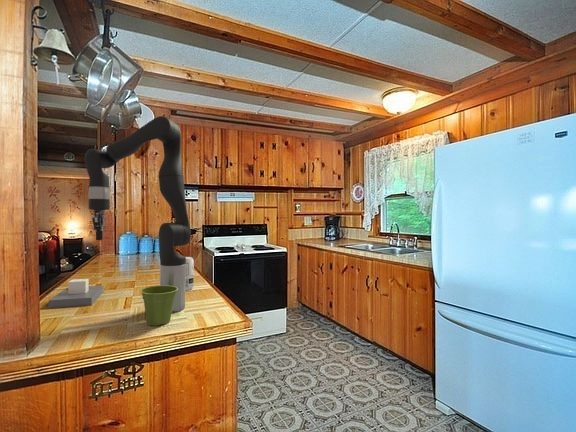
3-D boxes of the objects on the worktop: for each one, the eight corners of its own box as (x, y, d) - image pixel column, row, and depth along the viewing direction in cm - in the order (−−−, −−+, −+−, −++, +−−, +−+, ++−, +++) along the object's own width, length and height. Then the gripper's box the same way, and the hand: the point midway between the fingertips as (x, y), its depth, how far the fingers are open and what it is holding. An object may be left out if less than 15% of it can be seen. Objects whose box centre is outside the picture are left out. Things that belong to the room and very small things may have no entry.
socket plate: (91, 305, 119) (91, 296, 119) (48, 308, 114) (48, 298, 114) (103, 292, 138) (103, 284, 138) (66, 294, 133) (67, 286, 133)
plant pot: (176, 327, 98) (177, 292, 98) (136, 330, 95) (136, 294, 95) (178, 315, 110) (179, 284, 110) (143, 317, 106) (143, 285, 106)
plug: (85, 298, 125) (85, 281, 125) (68, 299, 123) (68, 282, 123) (88, 295, 129) (88, 278, 129) (71, 296, 127) (72, 279, 127)
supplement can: (172, 288, 147) (173, 257, 146) (188, 285, 153) (188, 256, 152) (180, 291, 141) (181, 259, 141) (196, 288, 147) (197, 258, 147)
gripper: (106, 197, 120) (106, 240, 120) (112, 199, 133) (112, 239, 133) (84, 197, 118) (84, 241, 118) (92, 199, 130) (92, 239, 130)
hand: (99, 240), depth 125 cm, fingers closed
